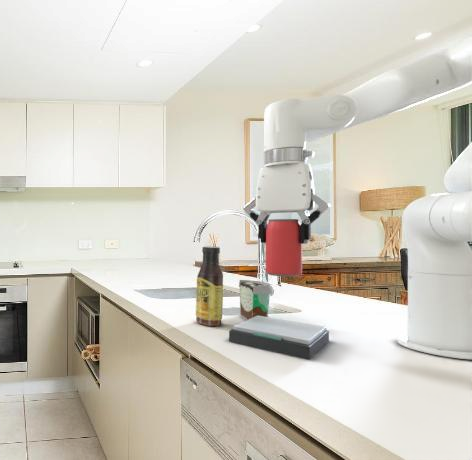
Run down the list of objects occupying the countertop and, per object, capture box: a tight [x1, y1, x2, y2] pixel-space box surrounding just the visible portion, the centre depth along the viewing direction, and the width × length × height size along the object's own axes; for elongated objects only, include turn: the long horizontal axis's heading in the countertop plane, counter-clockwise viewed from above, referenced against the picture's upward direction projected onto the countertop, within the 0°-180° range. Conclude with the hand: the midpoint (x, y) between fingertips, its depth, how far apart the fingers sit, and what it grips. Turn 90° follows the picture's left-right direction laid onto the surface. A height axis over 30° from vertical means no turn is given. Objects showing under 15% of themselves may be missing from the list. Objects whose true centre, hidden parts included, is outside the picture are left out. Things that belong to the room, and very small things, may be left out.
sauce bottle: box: [195, 245, 224, 327], centre depth 91 cm, size 6×6×20 cm
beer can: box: [265, 218, 303, 278], centre depth 76 cm, size 7×7×12 cm
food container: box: [238, 279, 274, 321], centre depth 95 cm, size 12×6×10 cm, turn 168°
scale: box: [228, 316, 330, 360], centre depth 77 cm, size 17×14×3 cm
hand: (283, 242), depth 77 cm, fingers closed on beer can, 6 cm apart
